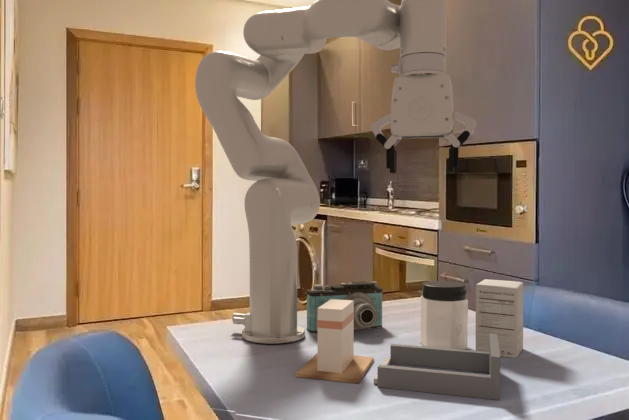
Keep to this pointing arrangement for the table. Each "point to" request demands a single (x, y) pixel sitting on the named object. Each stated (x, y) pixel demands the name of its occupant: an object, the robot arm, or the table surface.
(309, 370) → the cork mat
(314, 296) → the camera
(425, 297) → the jar
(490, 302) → the supplement box
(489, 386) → the frame
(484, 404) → the table surface
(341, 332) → the taped cardboard box
